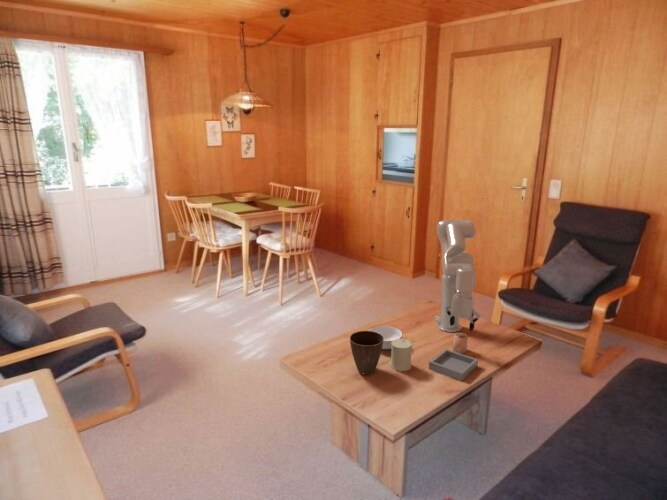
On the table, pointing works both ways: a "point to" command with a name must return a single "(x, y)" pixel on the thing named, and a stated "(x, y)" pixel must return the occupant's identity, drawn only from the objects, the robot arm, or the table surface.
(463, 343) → the terracotta cup
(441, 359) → the grey tray
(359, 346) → the plant pot
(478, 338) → the table surface
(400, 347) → the pillar candle
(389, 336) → the cereal bowl
